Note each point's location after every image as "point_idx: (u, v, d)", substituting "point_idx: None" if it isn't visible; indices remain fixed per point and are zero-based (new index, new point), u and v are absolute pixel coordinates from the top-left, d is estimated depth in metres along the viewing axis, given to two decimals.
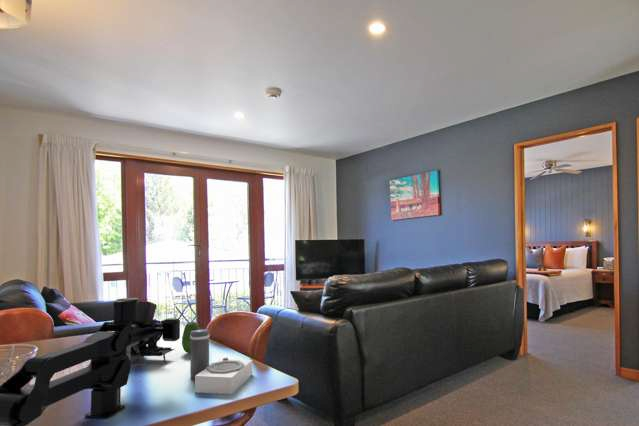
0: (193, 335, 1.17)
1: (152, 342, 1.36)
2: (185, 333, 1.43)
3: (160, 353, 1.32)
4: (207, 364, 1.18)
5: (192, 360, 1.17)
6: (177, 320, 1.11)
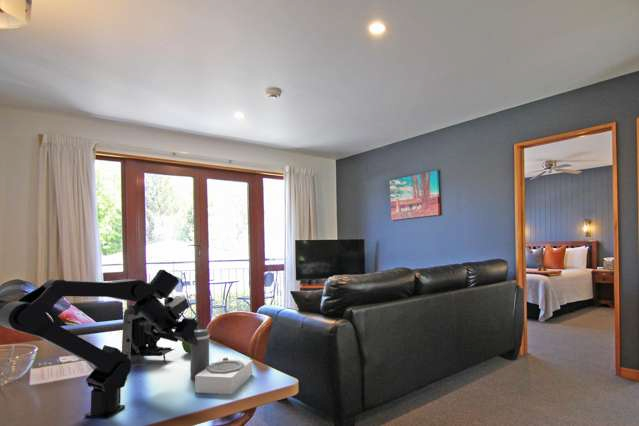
0: None
1: (152, 342, 1.36)
2: None
3: (160, 353, 1.32)
4: (207, 364, 1.18)
5: (192, 360, 1.17)
6: (196, 321, 1.08)
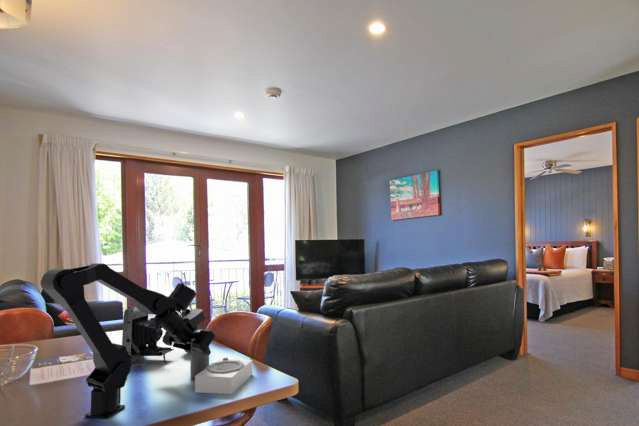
0: None
1: (152, 342, 1.36)
2: None
3: (160, 353, 1.32)
4: (207, 364, 1.18)
5: (192, 360, 1.17)
6: (213, 333, 1.13)
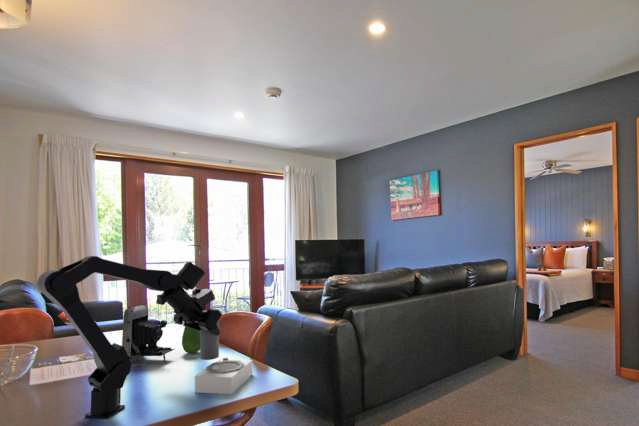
0: None
1: (152, 342, 1.36)
2: (185, 333, 1.43)
3: (160, 353, 1.32)
4: (216, 344, 1.17)
5: (201, 340, 1.16)
6: (219, 312, 1.11)
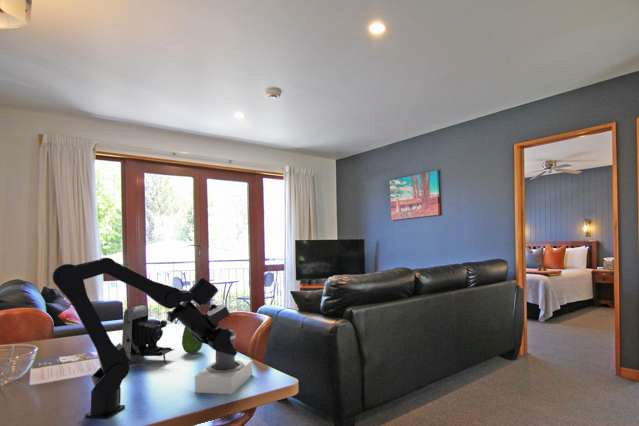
0: None
1: (152, 342, 1.36)
2: (185, 333, 1.43)
3: (160, 353, 1.32)
4: (231, 367, 1.11)
5: (216, 361, 1.12)
6: (229, 331, 1.05)
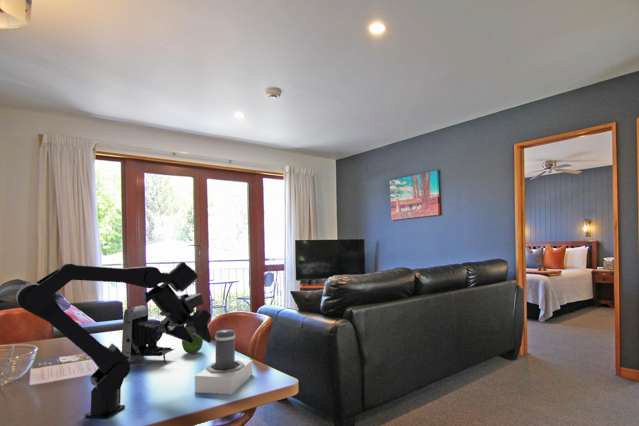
0: (216, 335, 1.12)
1: (152, 342, 1.36)
2: None
3: (160, 353, 1.32)
4: (231, 367, 1.11)
5: (216, 361, 1.12)
6: (209, 312, 1.05)
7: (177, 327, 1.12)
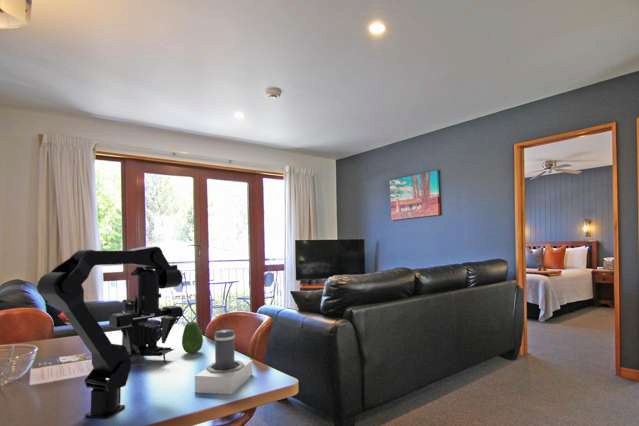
0: (216, 335, 1.12)
1: (152, 342, 1.36)
2: (185, 333, 1.43)
3: (160, 353, 1.32)
4: (231, 367, 1.11)
5: (215, 361, 1.12)
6: None
7: None
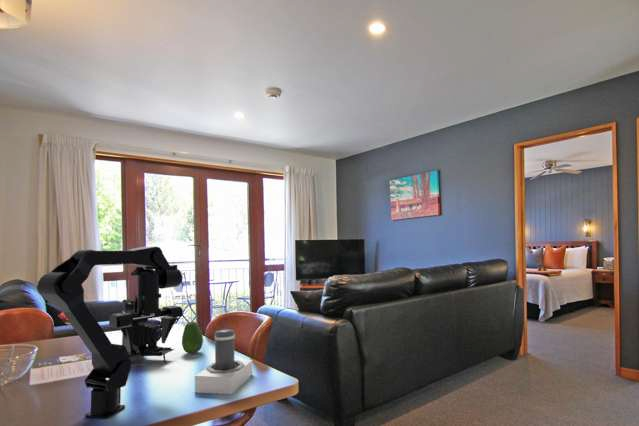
0: (216, 335, 1.12)
1: (152, 342, 1.36)
2: (185, 333, 1.43)
3: (160, 353, 1.32)
4: (231, 367, 1.11)
5: (216, 361, 1.12)
6: None
7: None
